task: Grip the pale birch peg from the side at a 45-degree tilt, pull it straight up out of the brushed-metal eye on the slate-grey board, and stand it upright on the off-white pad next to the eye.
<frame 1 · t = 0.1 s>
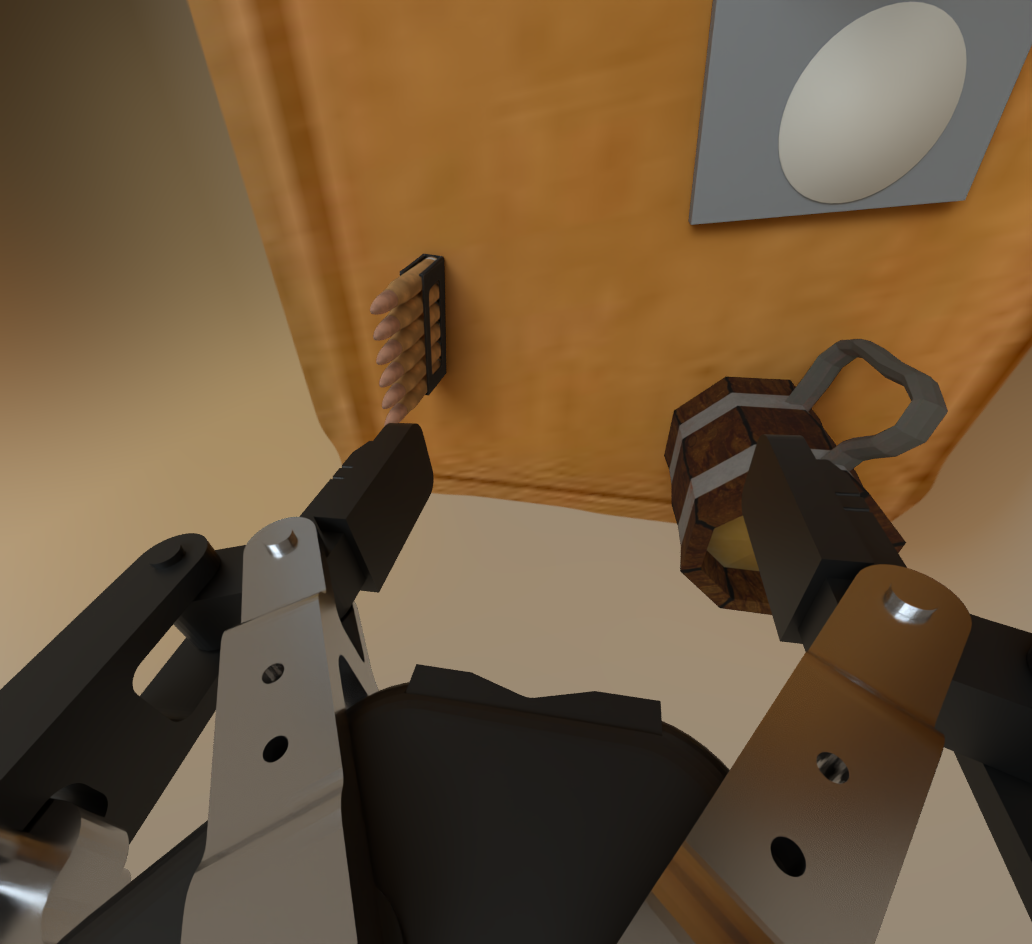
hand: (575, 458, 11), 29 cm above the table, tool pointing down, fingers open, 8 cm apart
mug: (759, 412, 40), on the table
ammunition clip: (436, 317, 40), on the table
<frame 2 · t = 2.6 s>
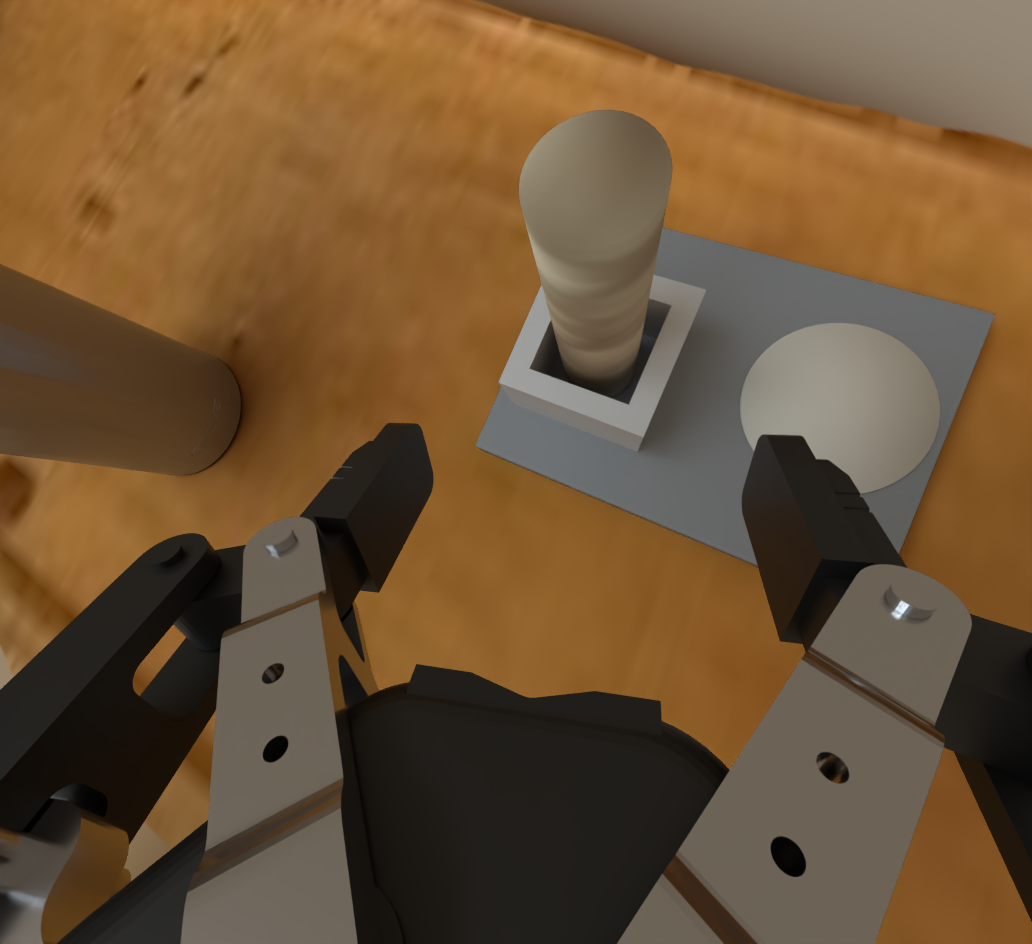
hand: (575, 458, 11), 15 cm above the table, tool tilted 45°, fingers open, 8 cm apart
peg: (599, 367, 25), point 1 cm above the table, touching board
board: (704, 394, 25), on the table
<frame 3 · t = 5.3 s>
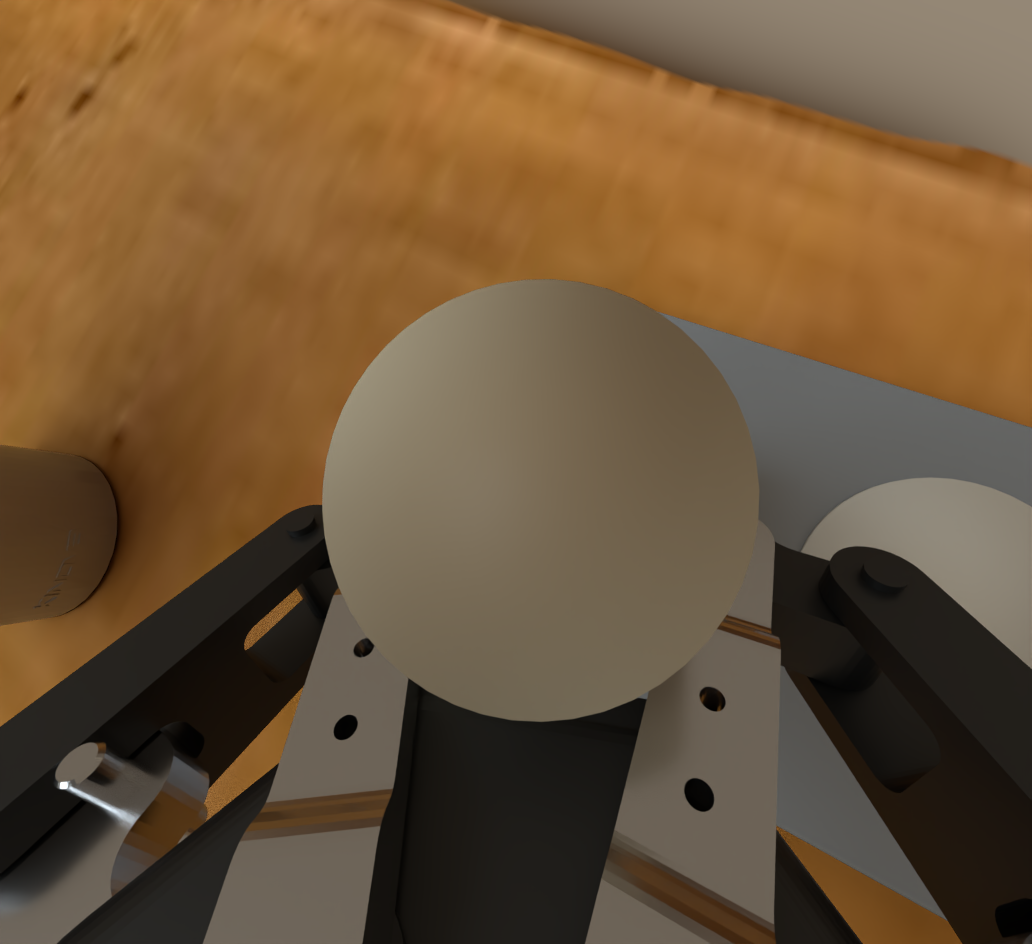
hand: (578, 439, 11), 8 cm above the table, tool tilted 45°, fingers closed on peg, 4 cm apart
peg: (586, 518, 18), point 2 cm above the table, touching board, gripper
board: (735, 557, 18), on the table
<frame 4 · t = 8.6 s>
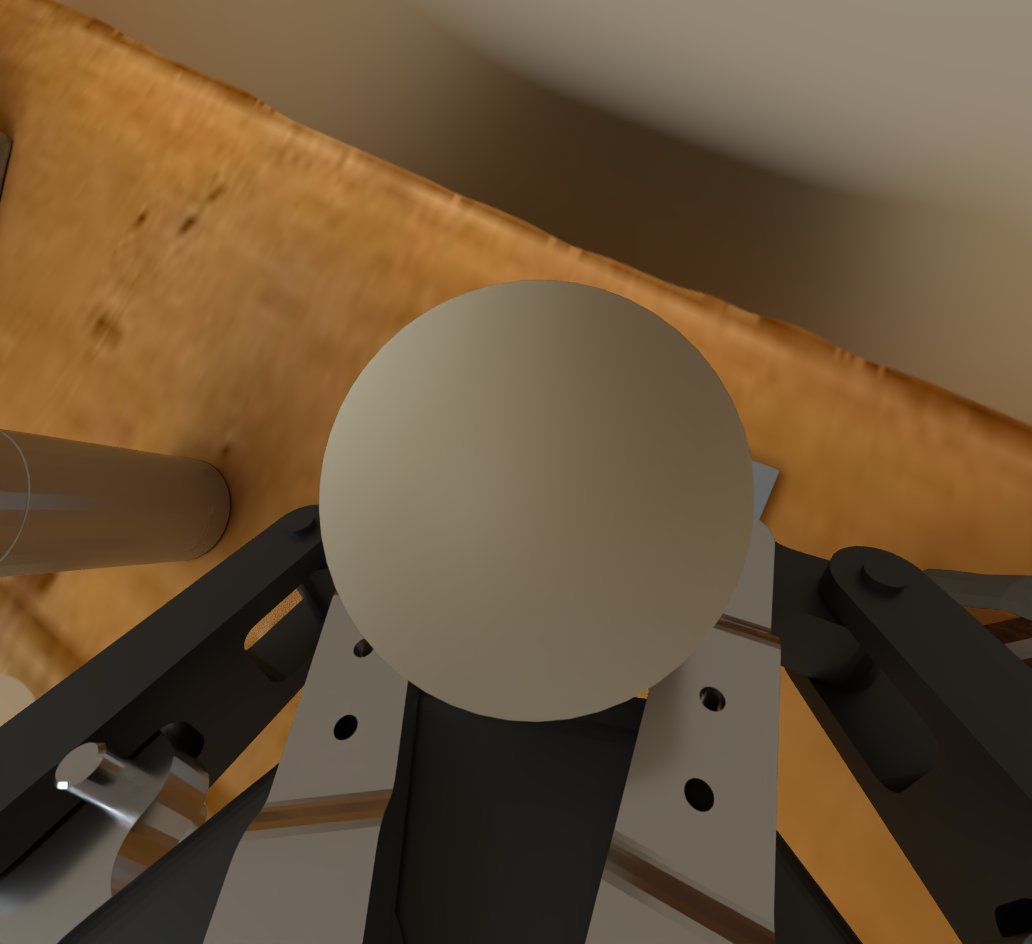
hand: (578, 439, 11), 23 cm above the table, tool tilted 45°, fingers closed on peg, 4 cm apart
mug: (979, 684, 28), on the table
peg: (585, 518, 18), point 16 cm above the table, touching gripper
board: (583, 513, 33), on the table
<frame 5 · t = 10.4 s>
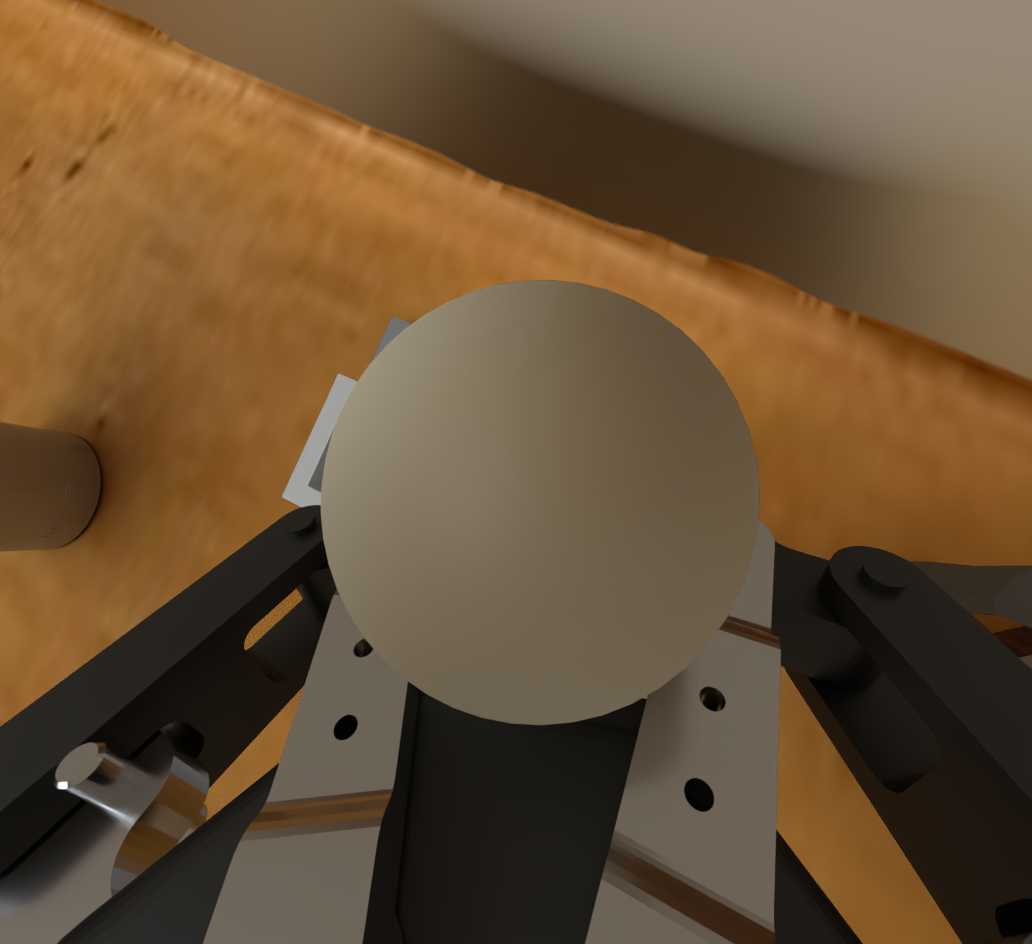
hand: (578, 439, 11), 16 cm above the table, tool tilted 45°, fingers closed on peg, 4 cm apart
mug: (973, 711, 22), on the table
peg: (586, 519, 18), point 9 cm above the table, touching gripper
board: (495, 495, 28), on the table
when the fingers open (10 cm above the table, at t = 11.8 s): peg drops 1 cm, resting on board.
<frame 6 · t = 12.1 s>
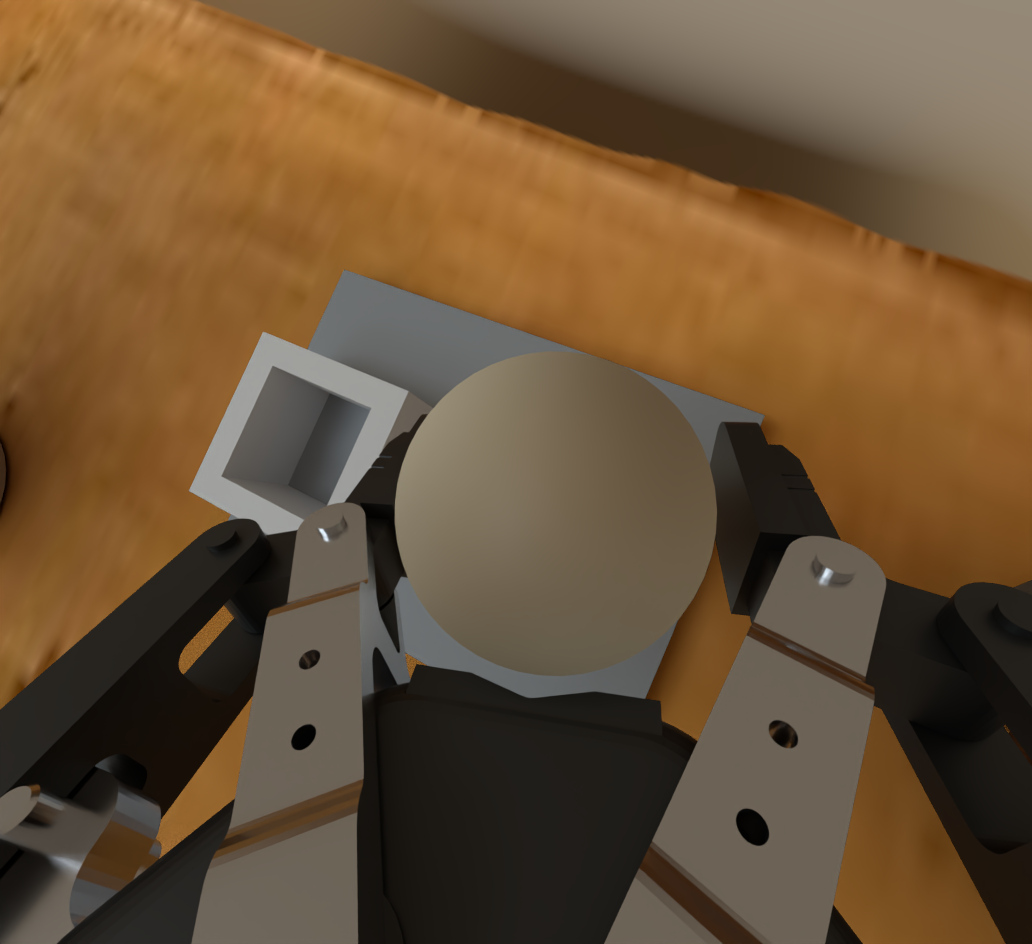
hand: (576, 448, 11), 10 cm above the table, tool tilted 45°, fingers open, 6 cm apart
peg: (588, 521, 19), point 2 cm above the table, touching board
board: (470, 489, 22), on the table
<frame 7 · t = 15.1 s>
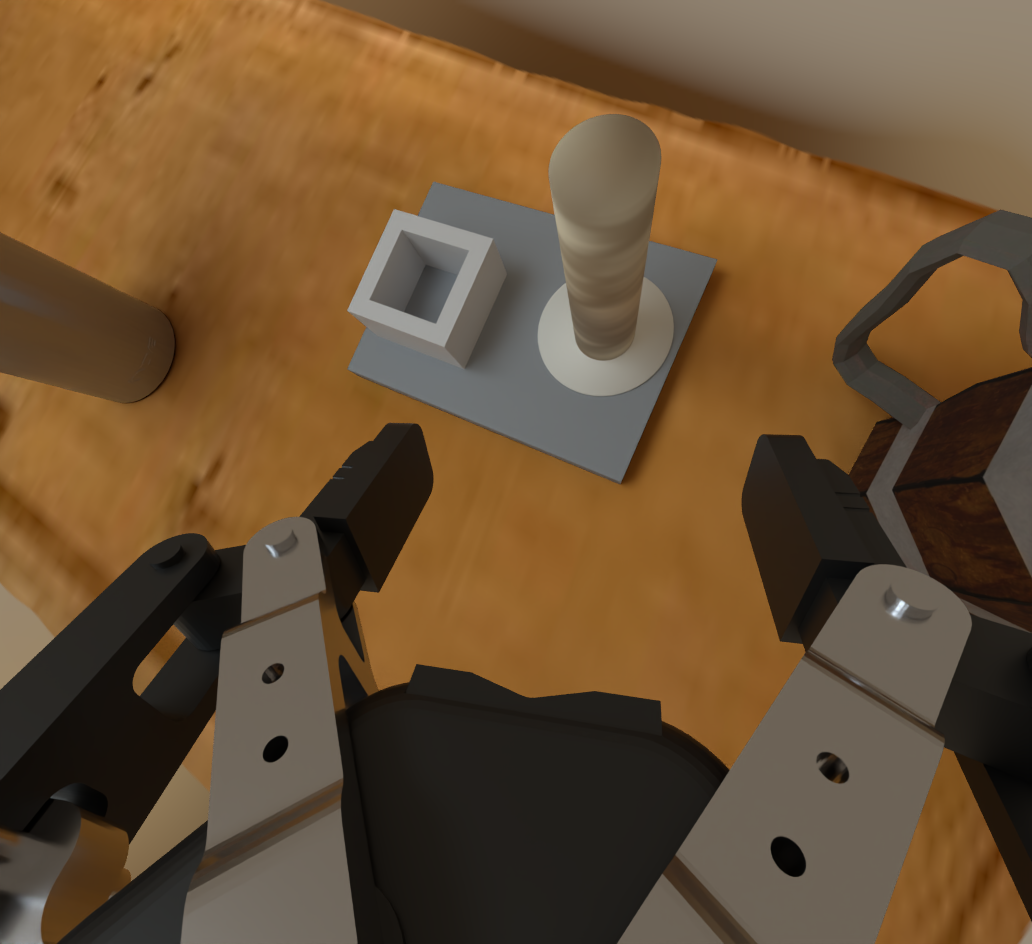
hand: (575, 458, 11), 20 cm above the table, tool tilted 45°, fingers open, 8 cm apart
mug: (922, 467, 26), on the table
peg: (604, 332, 29), point 2 cm above the table, touching board
board: (522, 327, 32), on the table
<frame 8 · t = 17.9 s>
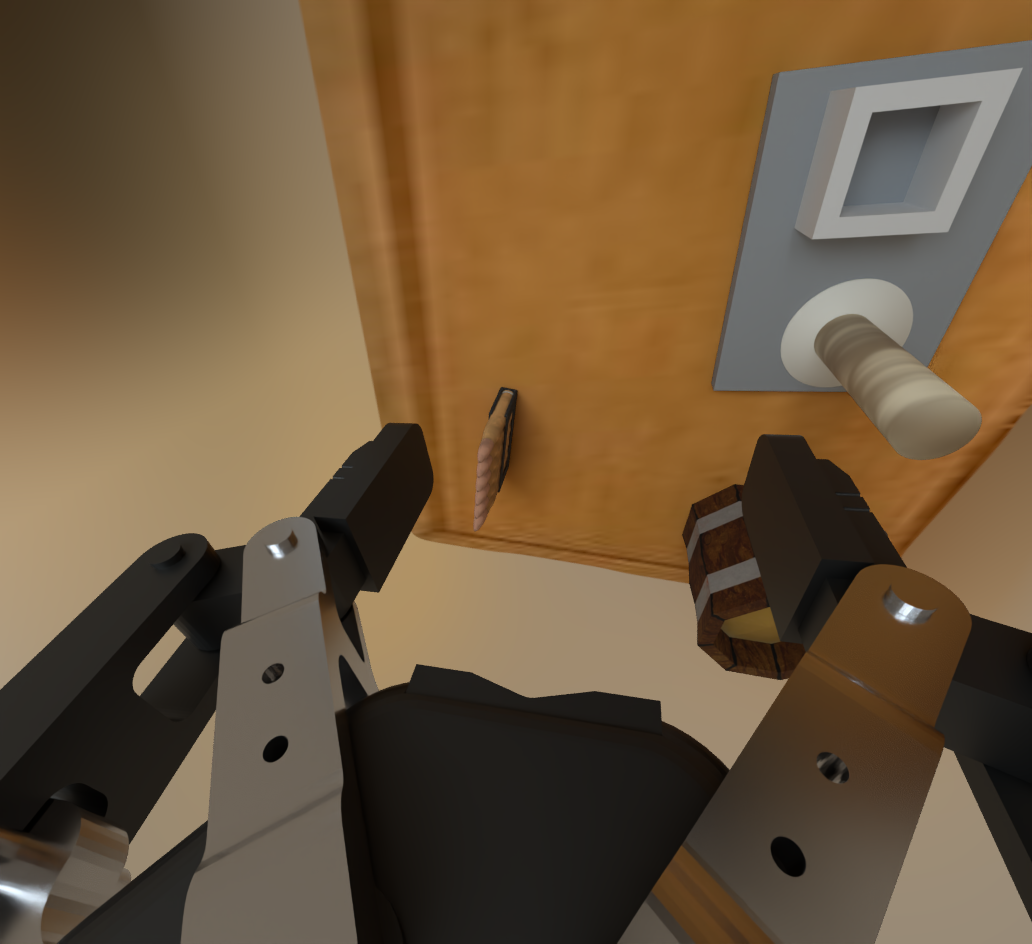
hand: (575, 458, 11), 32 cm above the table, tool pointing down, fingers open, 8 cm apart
mug: (760, 509, 50), on the table
peg: (842, 338, 36), point 2 cm above the table, touching board
board: (849, 252, 33), on the table
ammunition clip: (505, 428, 50), on the table
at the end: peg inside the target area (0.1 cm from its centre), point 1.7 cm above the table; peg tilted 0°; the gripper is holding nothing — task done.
